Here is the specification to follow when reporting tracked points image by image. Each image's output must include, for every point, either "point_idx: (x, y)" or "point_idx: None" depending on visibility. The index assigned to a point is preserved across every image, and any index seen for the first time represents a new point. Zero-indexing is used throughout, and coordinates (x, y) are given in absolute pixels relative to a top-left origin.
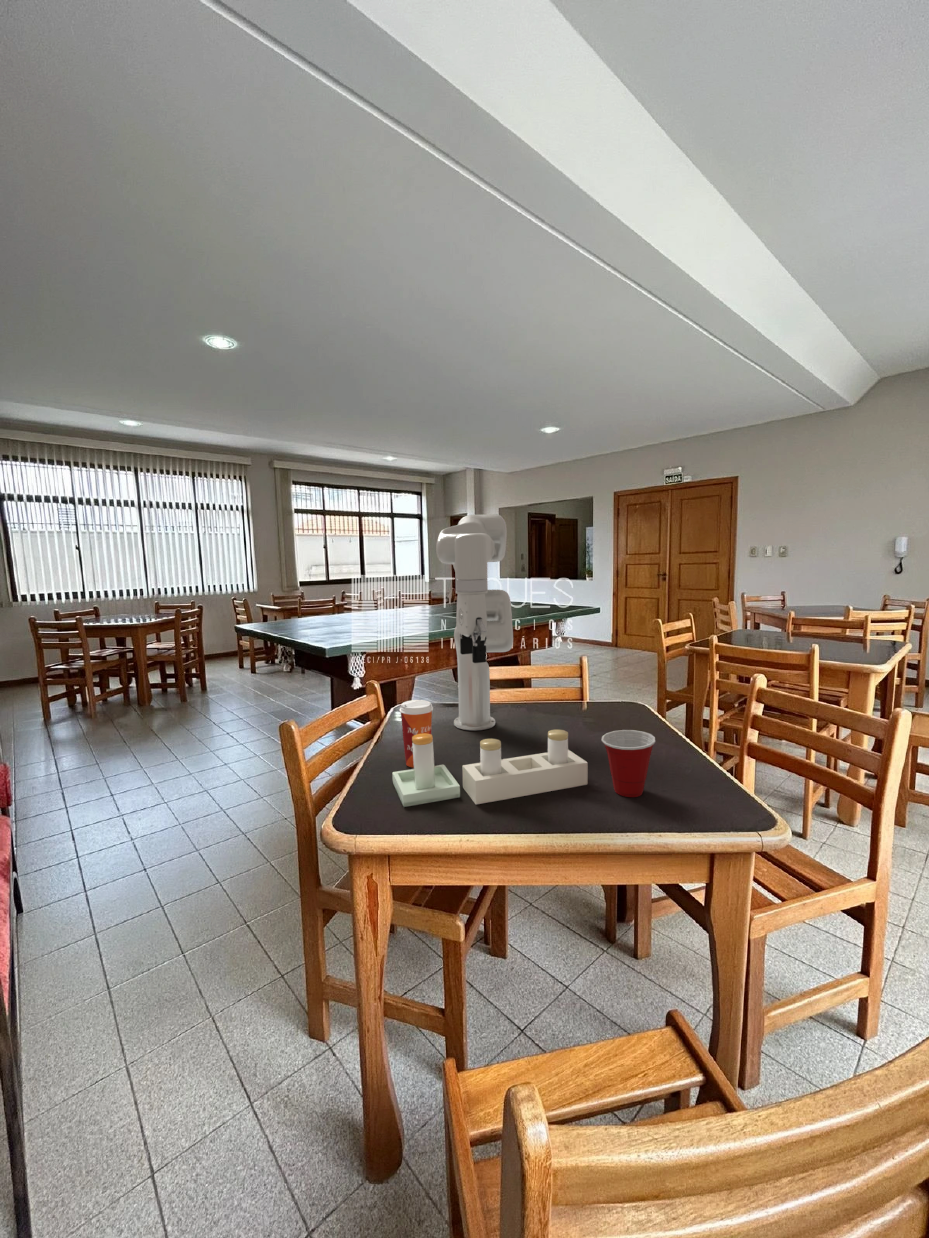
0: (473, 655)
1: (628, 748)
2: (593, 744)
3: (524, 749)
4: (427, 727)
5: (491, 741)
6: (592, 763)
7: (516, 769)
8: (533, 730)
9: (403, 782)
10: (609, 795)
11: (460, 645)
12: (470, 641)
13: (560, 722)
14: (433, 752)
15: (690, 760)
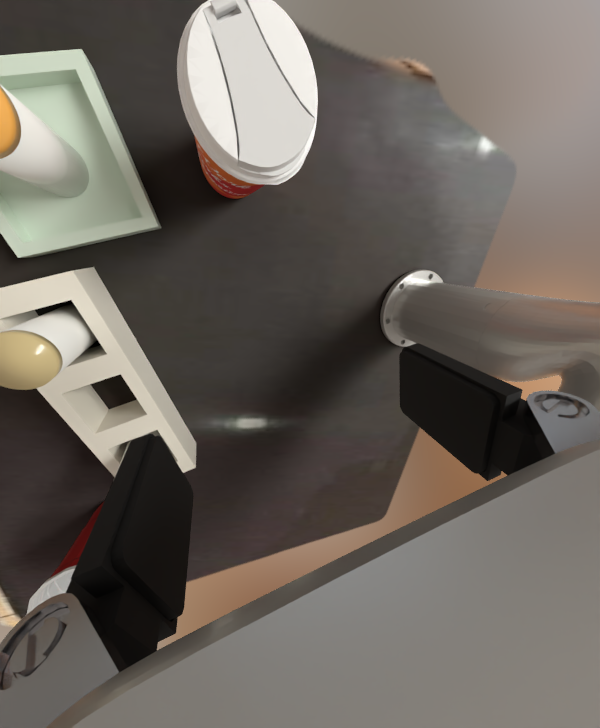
0: (114, 483)
1: (29, 606)
2: (291, 471)
3: (284, 386)
4: (213, 167)
5: (25, 365)
6: (221, 471)
7: (68, 389)
8: (359, 400)
9: (73, 100)
10: (99, 491)
11: (456, 364)
12: (461, 447)
13: (379, 434)
14: (12, 173)
15: (229, 558)
